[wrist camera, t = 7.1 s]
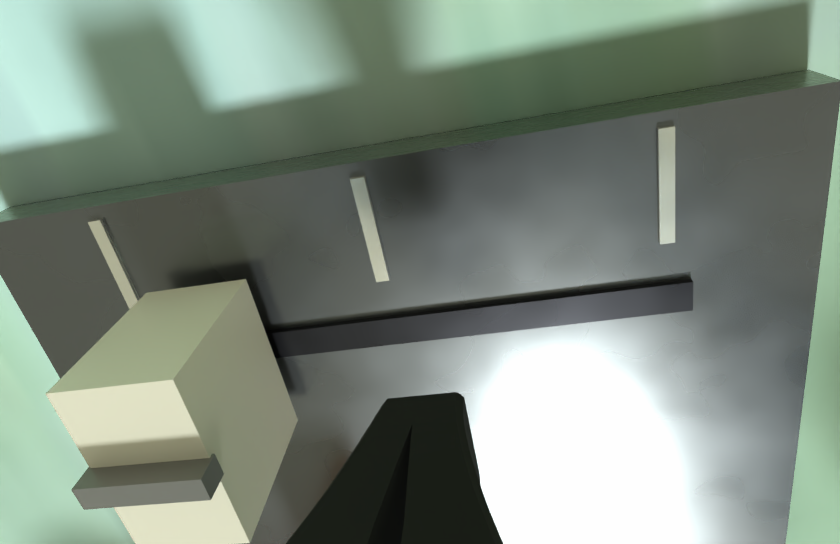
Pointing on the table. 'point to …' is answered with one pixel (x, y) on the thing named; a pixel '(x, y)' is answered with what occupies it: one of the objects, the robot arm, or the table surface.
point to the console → (507, 300)
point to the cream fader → (180, 416)
